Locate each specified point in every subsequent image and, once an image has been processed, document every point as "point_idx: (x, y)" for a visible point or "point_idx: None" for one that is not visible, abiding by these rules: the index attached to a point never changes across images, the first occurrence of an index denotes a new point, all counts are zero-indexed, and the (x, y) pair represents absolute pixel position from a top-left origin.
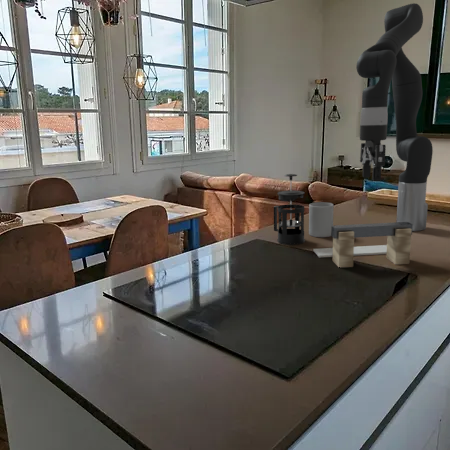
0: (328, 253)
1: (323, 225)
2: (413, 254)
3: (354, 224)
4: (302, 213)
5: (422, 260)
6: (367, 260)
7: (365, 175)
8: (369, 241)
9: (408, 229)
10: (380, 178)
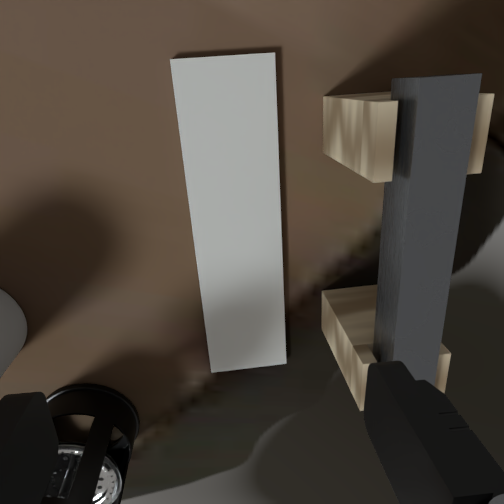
0: (268, 336)
1: (2, 351)
2: (297, 16)
3: (394, 351)
4: (84, 496)
5: (379, 14)
6: (337, 226)
7: (47, 451)
8: (84, 147)
9: (490, 111)
10: (407, 370)
